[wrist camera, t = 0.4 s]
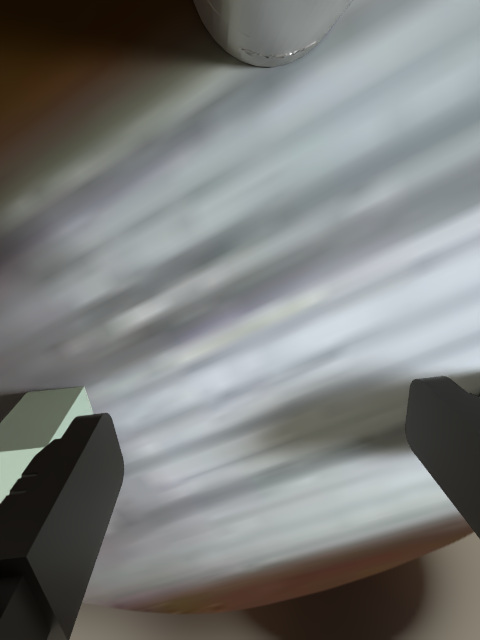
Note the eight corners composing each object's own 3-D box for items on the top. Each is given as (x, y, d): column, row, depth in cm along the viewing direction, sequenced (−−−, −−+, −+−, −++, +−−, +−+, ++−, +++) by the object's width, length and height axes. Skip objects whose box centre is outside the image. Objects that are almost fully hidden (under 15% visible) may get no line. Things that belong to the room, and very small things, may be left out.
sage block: (27, 392, 28) (-28, 454, 22) (84, 386, 28) (46, 447, 22) (45, 434, 30) (0, 503, 24) (98, 429, 31) (67, 496, 24)
